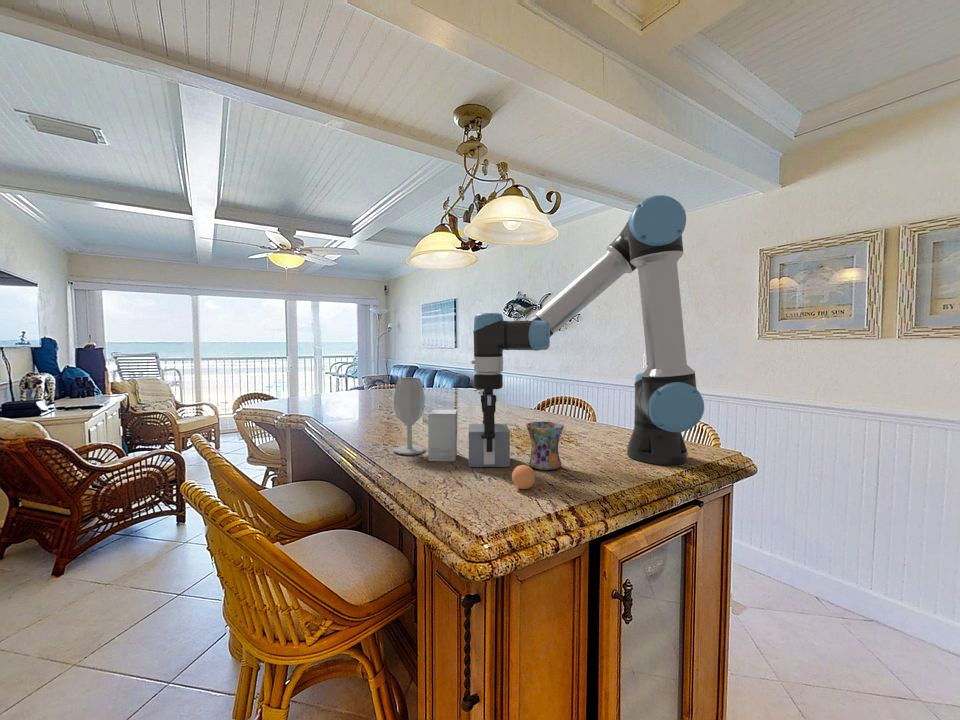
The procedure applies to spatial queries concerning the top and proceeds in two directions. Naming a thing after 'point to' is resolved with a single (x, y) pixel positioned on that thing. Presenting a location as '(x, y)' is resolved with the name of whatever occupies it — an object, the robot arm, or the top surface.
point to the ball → (523, 477)
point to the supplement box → (442, 435)
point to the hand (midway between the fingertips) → (488, 457)
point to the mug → (544, 444)
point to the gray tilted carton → (478, 446)
